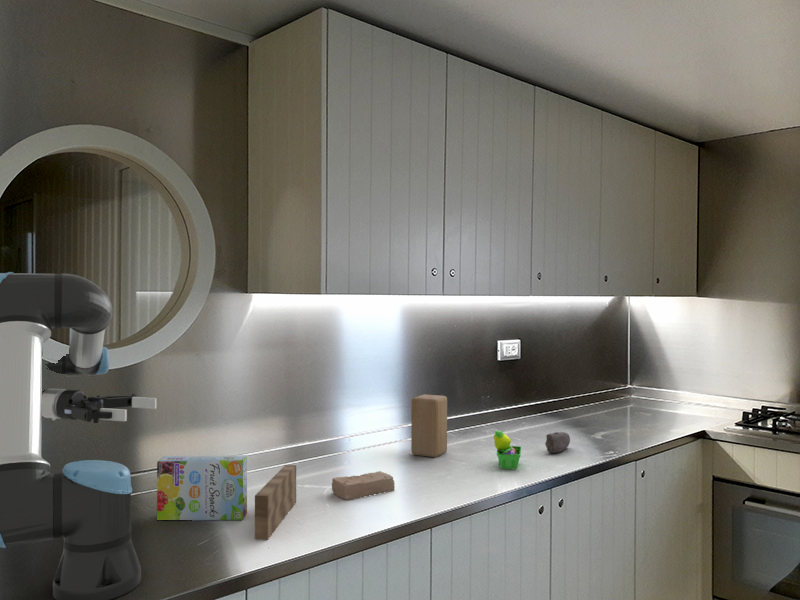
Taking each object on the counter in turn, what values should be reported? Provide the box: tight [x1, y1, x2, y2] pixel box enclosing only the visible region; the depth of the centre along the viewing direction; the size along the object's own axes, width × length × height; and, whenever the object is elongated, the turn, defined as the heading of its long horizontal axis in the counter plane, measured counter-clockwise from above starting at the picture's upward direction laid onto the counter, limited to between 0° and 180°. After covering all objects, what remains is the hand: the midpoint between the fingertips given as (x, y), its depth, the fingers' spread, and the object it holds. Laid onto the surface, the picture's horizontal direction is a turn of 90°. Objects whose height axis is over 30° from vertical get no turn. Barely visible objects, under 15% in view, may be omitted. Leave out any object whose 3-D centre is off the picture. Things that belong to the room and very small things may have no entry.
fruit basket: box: [493, 430, 522, 470], centre depth 207 cm, size 11×9×11 cm
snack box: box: [156, 454, 248, 521], centre depth 157 cm, size 21×6×15 cm, turn 92°
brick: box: [331, 470, 396, 501], centre depth 178 cm, size 17×8×5 cm, turn 124°
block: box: [410, 393, 448, 458], centre depth 222 cm, size 10×10×20 cm
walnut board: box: [254, 464, 297, 541], centre depth 156 cm, size 26×3×10 cm, turn 175°
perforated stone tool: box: [544, 431, 571, 454], centre depth 226 cm, size 15×5×7 cm, turn 136°
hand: (141, 409), depth 158 cm, fingers open, 13 cm apart
